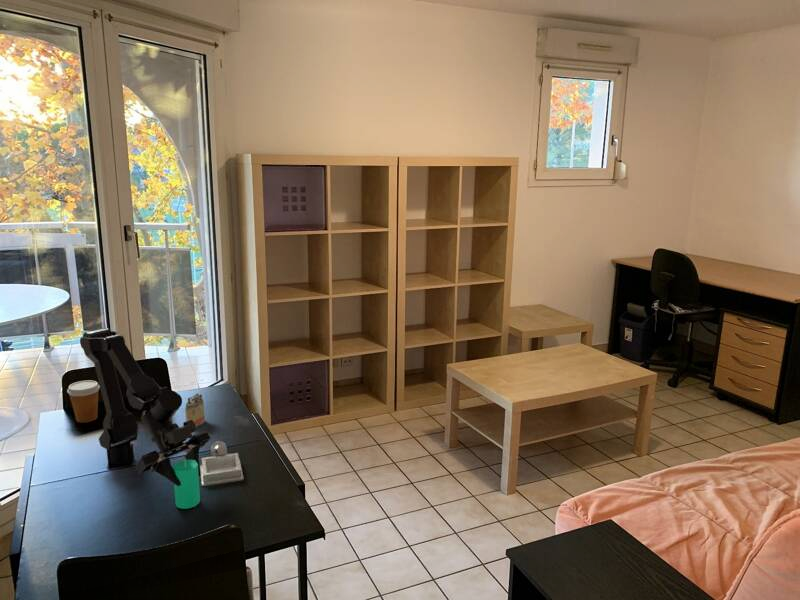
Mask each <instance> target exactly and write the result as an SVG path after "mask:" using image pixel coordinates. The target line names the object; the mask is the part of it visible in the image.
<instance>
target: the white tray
mask: <svg viewBox="0 0 800 600" xmlns="http://www.w3.org/2000/svg"><path fill="white" fill-rule="evenodd" d="M210 453H211V454H210V455H211V456H206V457H201V464H199V465H200V473H201V475H200V479H201V481H200V482H201V487H202V488H203V487H209V486H215V485H220V484H222V485H223V484H227V483H235V482H241V481H244V480H245V479H244V478H245V477H244V475H243V469H242V465H241V460H240V457H239V453H238V452H235V453H228V448H227V444H226V443H225V442H224V441H223V440H217V441H214V442H213V443H212V444H211V446H210Z"/></svg>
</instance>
